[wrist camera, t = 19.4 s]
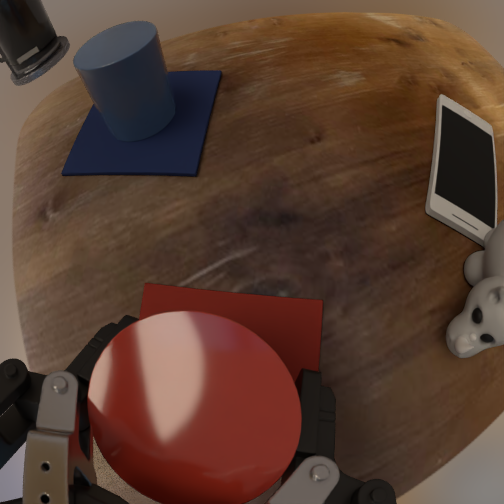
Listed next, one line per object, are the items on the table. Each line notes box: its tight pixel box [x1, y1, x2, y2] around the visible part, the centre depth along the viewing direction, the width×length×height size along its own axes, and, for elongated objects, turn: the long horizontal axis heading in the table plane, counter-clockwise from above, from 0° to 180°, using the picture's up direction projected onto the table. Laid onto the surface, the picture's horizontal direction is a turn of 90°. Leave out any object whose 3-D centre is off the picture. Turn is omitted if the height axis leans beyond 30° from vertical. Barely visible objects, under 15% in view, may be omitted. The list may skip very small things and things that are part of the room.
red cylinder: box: [87, 310, 302, 504], centre depth 11 cm, size 6×6×8 cm
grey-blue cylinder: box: [73, 21, 176, 142], centre depth 19 cm, size 6×6×8 cm
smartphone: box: [425, 94, 497, 247], centre depth 22 cm, size 7×15×1 cm, turn 155°
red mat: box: [139, 283, 323, 383], centre depth 17 cm, size 11×11×1 cm
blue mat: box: [61, 71, 222, 177], centre depth 23 cm, size 12×12×1 cm
